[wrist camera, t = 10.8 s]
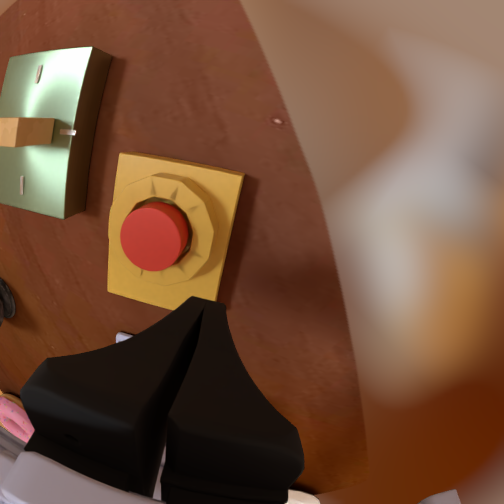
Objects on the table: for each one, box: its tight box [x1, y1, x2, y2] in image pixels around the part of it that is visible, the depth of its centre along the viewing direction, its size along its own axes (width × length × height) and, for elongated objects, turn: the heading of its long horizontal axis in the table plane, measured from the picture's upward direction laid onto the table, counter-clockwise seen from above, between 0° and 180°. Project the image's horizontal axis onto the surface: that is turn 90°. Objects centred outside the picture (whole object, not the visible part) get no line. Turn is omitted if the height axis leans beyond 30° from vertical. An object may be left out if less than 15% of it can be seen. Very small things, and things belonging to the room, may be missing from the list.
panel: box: [0, 46, 112, 220], centre depth 17 cm, size 12×10×3 cm
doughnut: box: [0, 394, 35, 443], centre depth 30 cm, size 11×11×4 cm
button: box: [120, 202, 188, 271], centre depth 16 cm, size 4×4×2 cm
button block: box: [108, 152, 245, 310], centre depth 19 cm, size 10×8×4 cm
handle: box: [0, 117, 55, 148], centre depth 14 cm, size 6×2×4 cm, turn 77°
